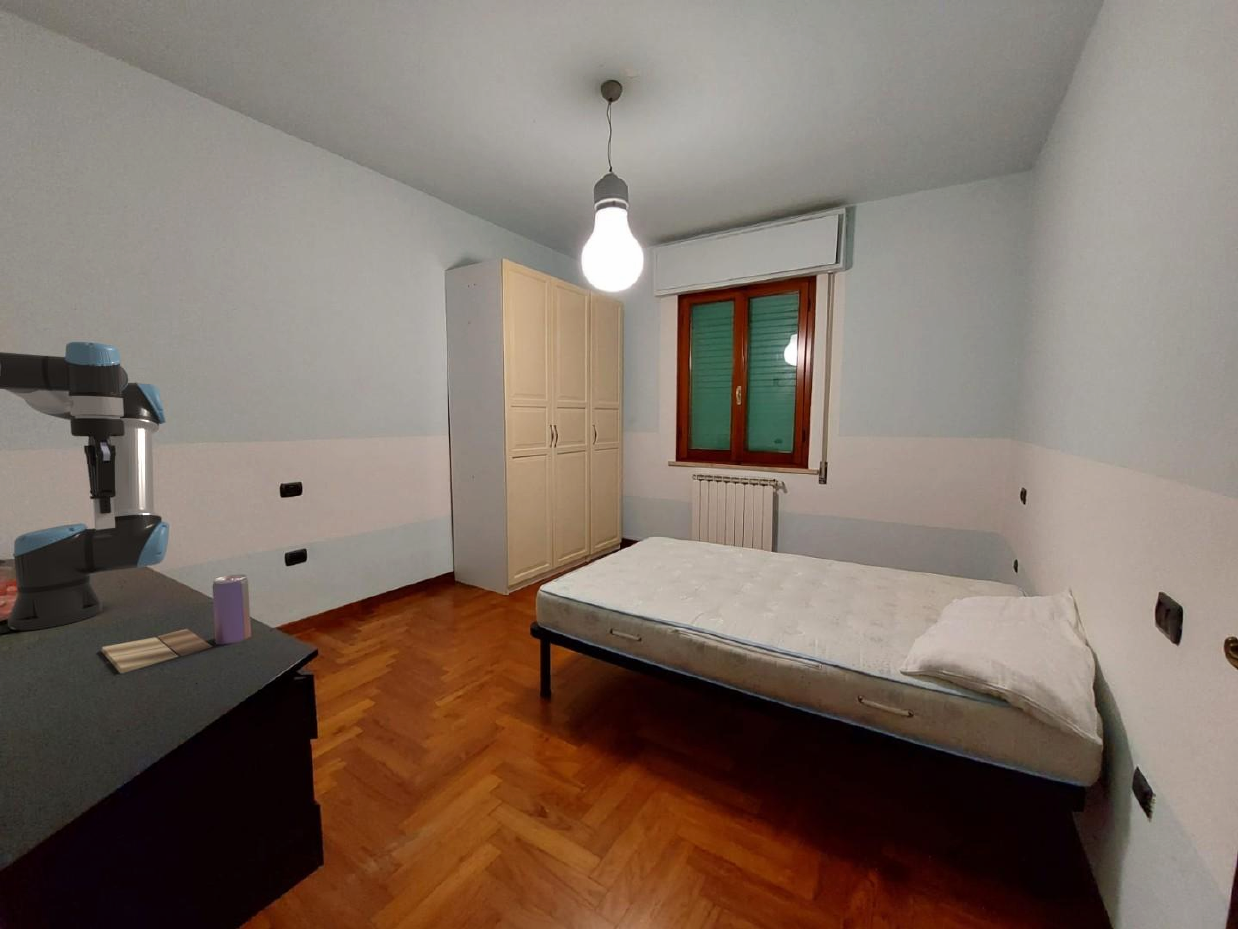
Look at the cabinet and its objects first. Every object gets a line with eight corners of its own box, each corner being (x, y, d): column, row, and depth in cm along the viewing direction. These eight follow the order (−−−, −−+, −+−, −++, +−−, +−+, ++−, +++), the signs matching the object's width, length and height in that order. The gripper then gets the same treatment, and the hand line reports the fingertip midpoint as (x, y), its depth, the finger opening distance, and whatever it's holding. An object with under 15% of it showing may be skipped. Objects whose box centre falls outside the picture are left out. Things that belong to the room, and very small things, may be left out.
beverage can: (231, 652, 98) (227, 583, 97) (208, 649, 99) (204, 581, 98) (258, 640, 104) (254, 574, 103) (236, 638, 105) (233, 573, 104)
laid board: (157, 643, 103) (157, 636, 103) (187, 634, 107) (187, 628, 107) (181, 663, 93) (180, 656, 93) (213, 653, 97) (212, 646, 97)
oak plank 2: (110, 664, 91) (111, 657, 91) (166, 653, 97) (166, 646, 98) (120, 676, 86) (121, 668, 86) (177, 663, 93) (178, 656, 93)
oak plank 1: (101, 654, 95) (102, 647, 96) (155, 644, 102) (155, 637, 102) (110, 664, 91) (110, 657, 91) (165, 653, 98) (166, 646, 98)
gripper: (64, 418, 98) (72, 528, 99) (76, 416, 91) (84, 534, 92) (116, 419, 104) (123, 522, 105) (130, 417, 97) (138, 528, 98)
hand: (105, 528), depth 99 cm, fingers closed
